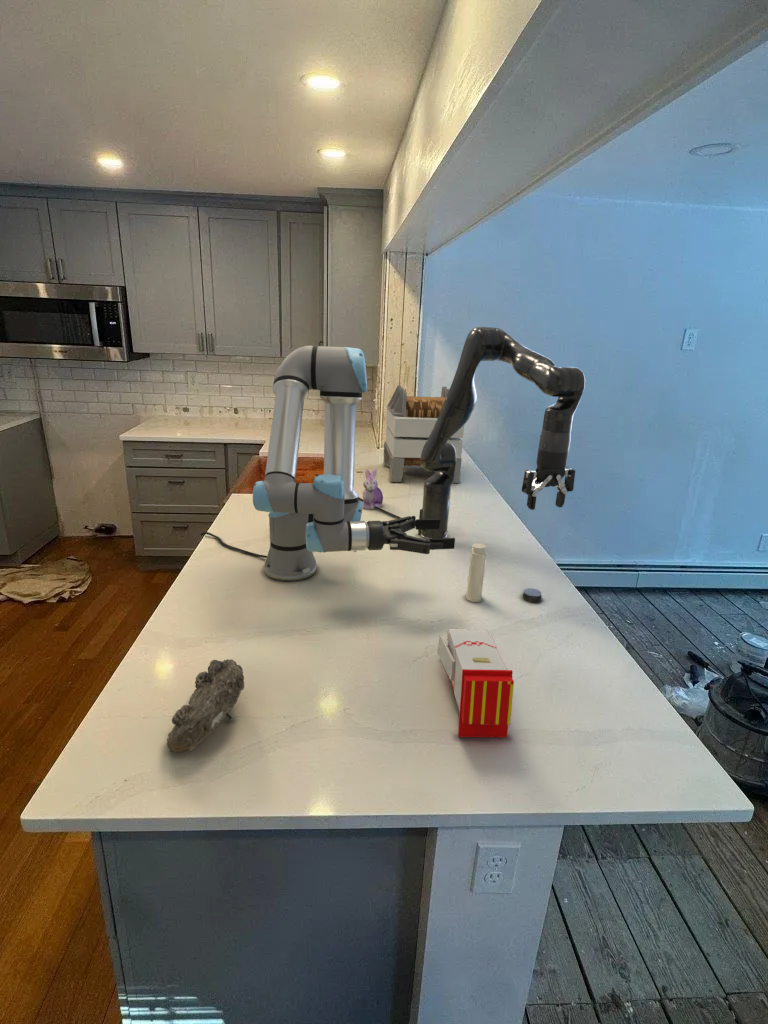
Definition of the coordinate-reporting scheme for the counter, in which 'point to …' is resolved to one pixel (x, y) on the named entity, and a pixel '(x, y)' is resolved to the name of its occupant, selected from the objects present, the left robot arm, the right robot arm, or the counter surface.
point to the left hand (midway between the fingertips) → (446, 533)
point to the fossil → (206, 705)
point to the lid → (532, 595)
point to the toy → (478, 682)
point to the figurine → (371, 491)
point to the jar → (476, 573)
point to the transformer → (413, 431)
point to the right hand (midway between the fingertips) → (544, 507)
